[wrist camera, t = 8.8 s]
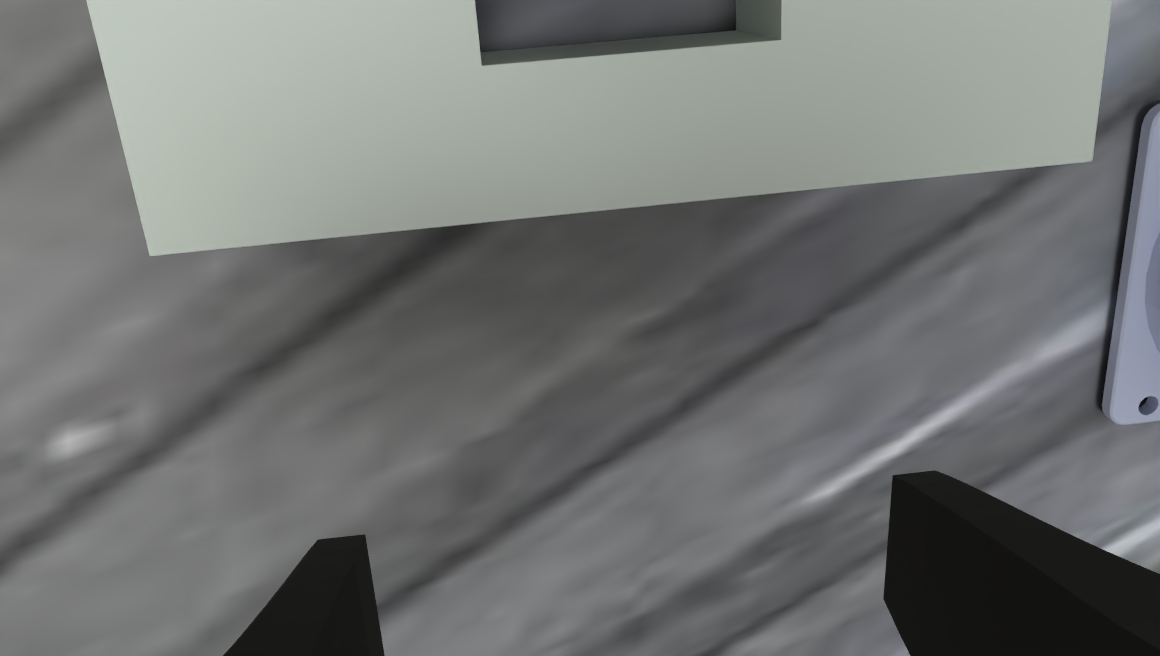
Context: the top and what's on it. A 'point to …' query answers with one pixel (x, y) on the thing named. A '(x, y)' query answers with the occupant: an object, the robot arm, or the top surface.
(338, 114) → the hole block
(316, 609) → the robot arm
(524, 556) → the top surface
